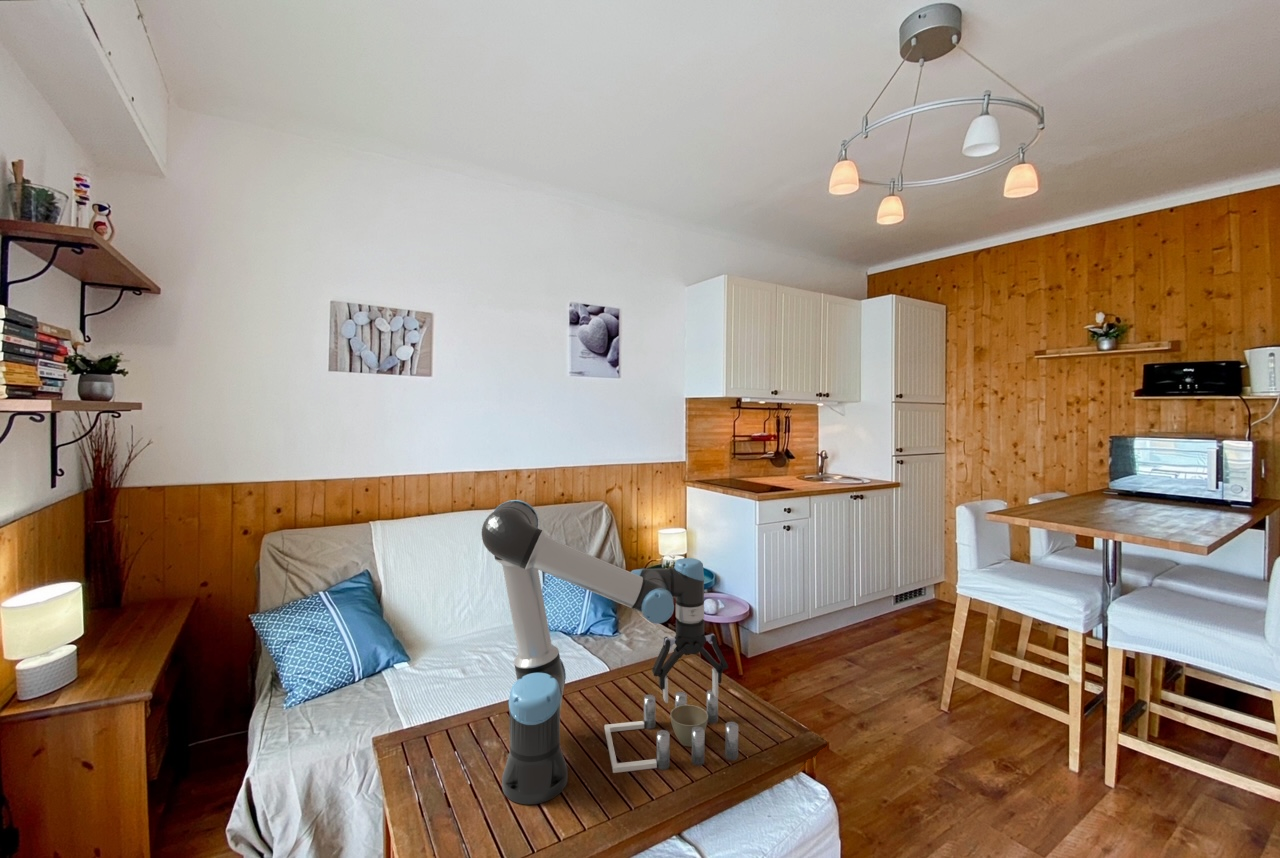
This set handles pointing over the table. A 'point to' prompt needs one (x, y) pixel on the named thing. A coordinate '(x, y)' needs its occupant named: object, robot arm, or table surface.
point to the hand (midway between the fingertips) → (690, 697)
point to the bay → (615, 766)
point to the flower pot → (687, 722)
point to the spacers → (697, 731)
